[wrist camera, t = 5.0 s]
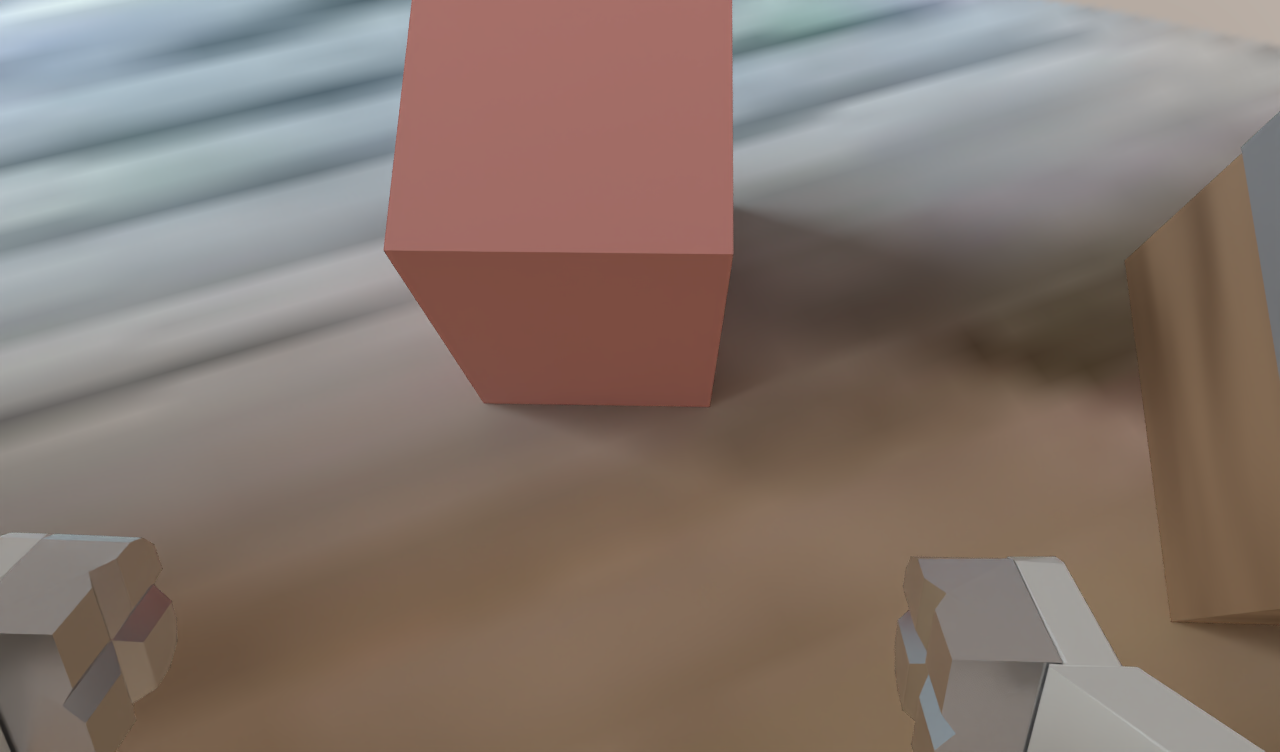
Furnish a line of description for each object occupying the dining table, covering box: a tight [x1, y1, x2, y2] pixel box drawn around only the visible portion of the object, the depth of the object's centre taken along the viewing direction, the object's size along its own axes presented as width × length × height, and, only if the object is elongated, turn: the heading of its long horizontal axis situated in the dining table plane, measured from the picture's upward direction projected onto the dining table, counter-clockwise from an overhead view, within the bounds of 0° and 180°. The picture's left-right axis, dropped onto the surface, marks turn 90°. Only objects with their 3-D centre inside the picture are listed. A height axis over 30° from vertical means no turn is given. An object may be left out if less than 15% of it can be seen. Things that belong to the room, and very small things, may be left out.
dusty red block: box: [384, 0, 733, 407], centre depth 18 cm, size 5×5×8 cm
